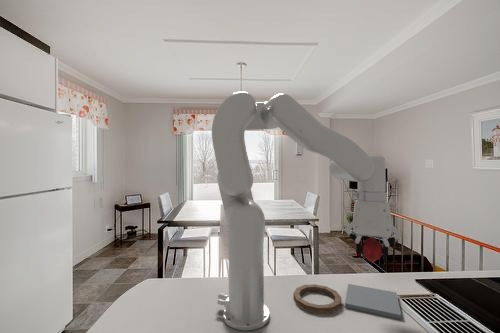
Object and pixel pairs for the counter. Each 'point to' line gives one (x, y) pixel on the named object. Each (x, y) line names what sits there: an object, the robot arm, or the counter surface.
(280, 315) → the counter surface
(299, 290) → the ring holder
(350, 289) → the board
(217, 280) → the counter surface
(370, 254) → the onion
